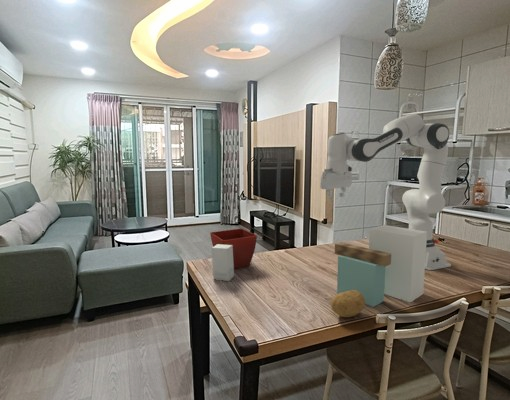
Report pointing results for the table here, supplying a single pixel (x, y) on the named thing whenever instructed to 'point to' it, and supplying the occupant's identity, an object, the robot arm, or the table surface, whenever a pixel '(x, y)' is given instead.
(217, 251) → the skincare box
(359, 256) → the rail
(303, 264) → the table surface
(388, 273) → the stand
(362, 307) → the potato
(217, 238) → the plant pot
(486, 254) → the table surface
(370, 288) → the teal box
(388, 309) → the table surface
